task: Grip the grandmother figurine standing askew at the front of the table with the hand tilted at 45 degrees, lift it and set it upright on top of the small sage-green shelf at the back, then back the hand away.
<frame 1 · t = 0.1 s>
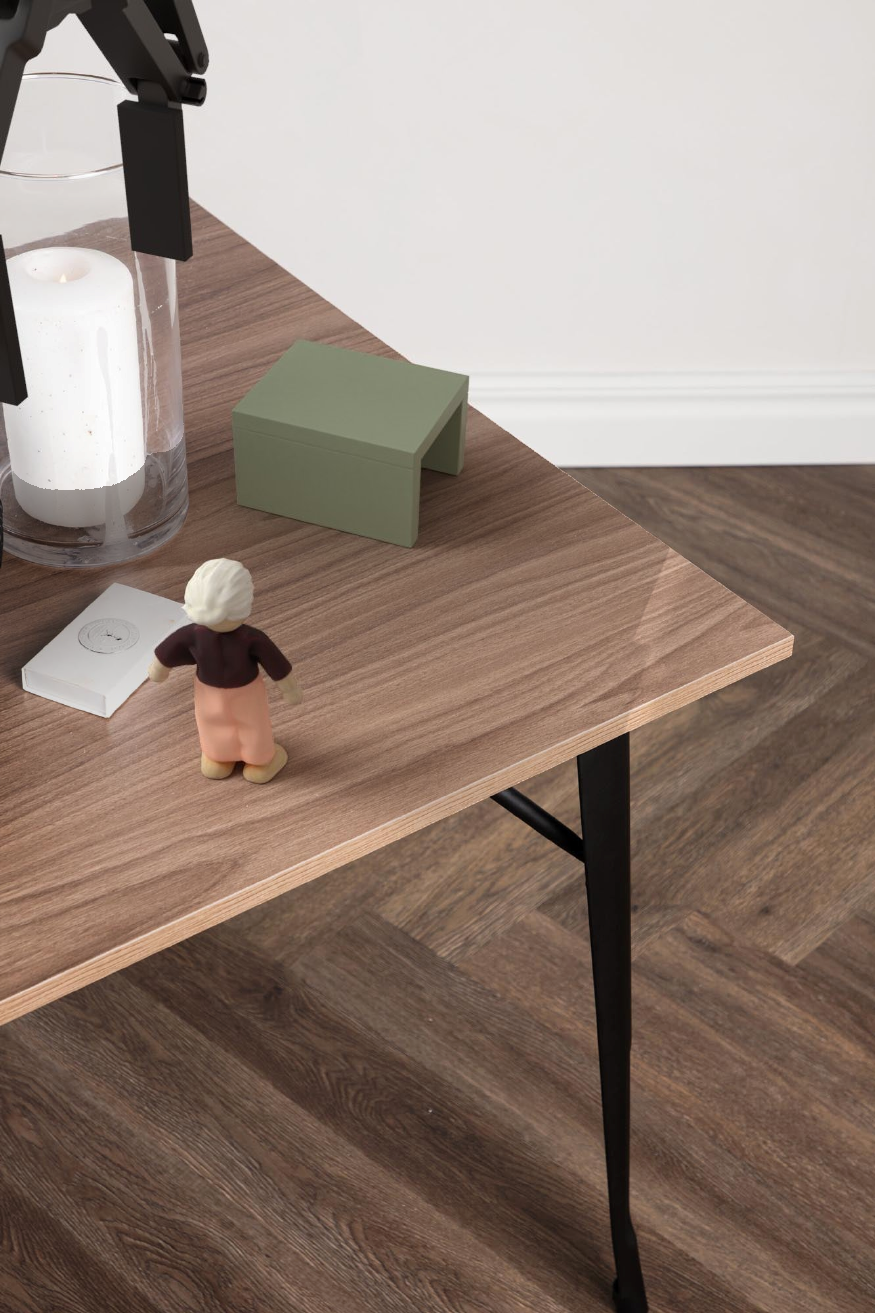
hand: (84, 318, 59), 24 cm above the table, tool pointing down, fingers open, 13 cm apart
grandmother figurine: (232, 763, 74), on the table
shelf: (353, 485, 93), on the table
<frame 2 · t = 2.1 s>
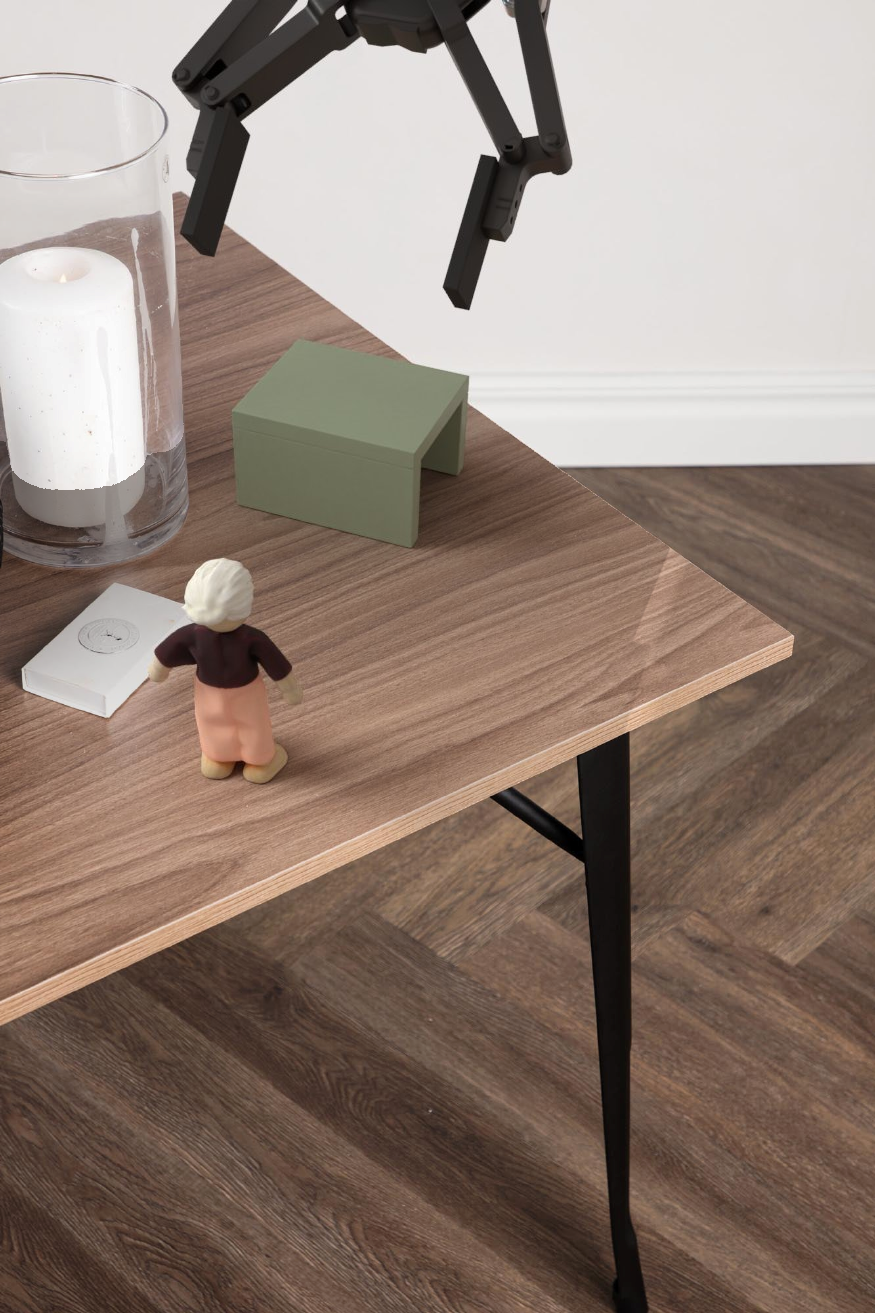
hand: (323, 272, 68), 22 cm above the table, tool tilted 45°, fingers open, 13 cm apart
nothing on the table moved.
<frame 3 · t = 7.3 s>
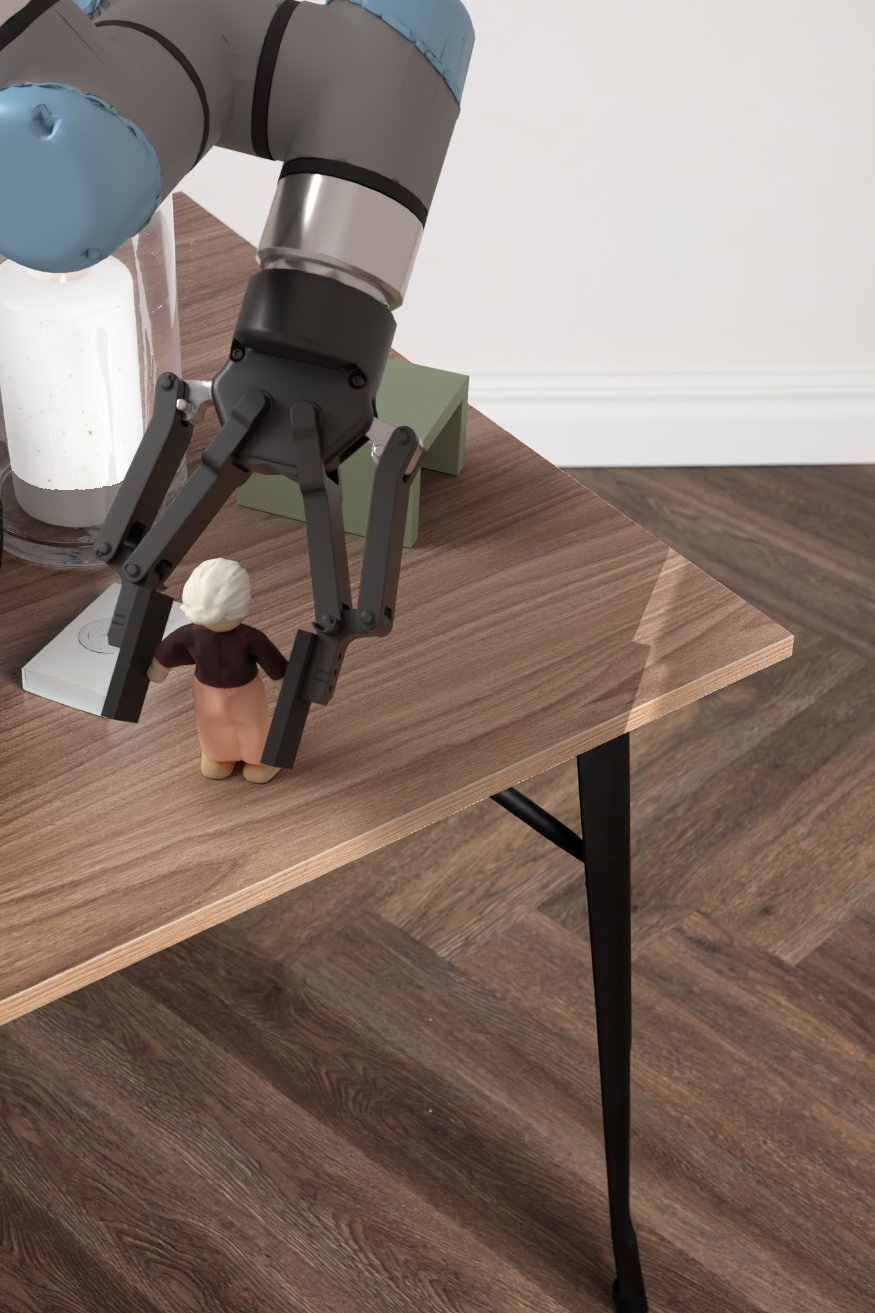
hand: (197, 742, 68), 4 cm above the table, tool tilted 45°, fingers closed on grandmother figurine, 8 cm apart
grandmother figurine: (232, 763, 74), on the table, touching gripper
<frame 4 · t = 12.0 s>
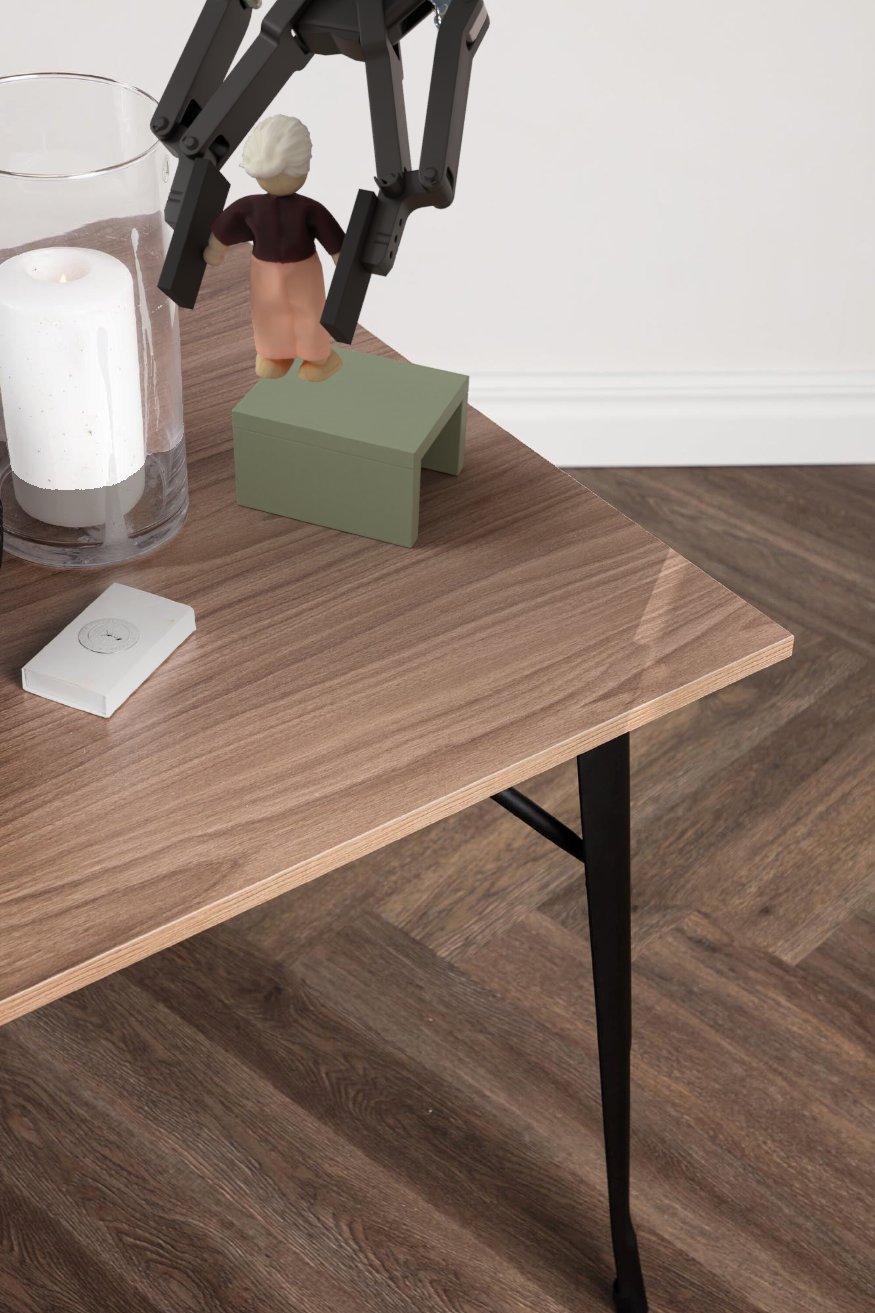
hand: (254, 315, 67), 21 cm above the table, tool tilted 45°, fingers closed on grandmother figurine, 8 cm apart
grandmother figurine: (286, 369, 73), point 16 cm above the table, touching gripper
when the fingers open (11 cm above the table, at t = 16.7 s): grandmother figurine stays where it is, resting on shelf.
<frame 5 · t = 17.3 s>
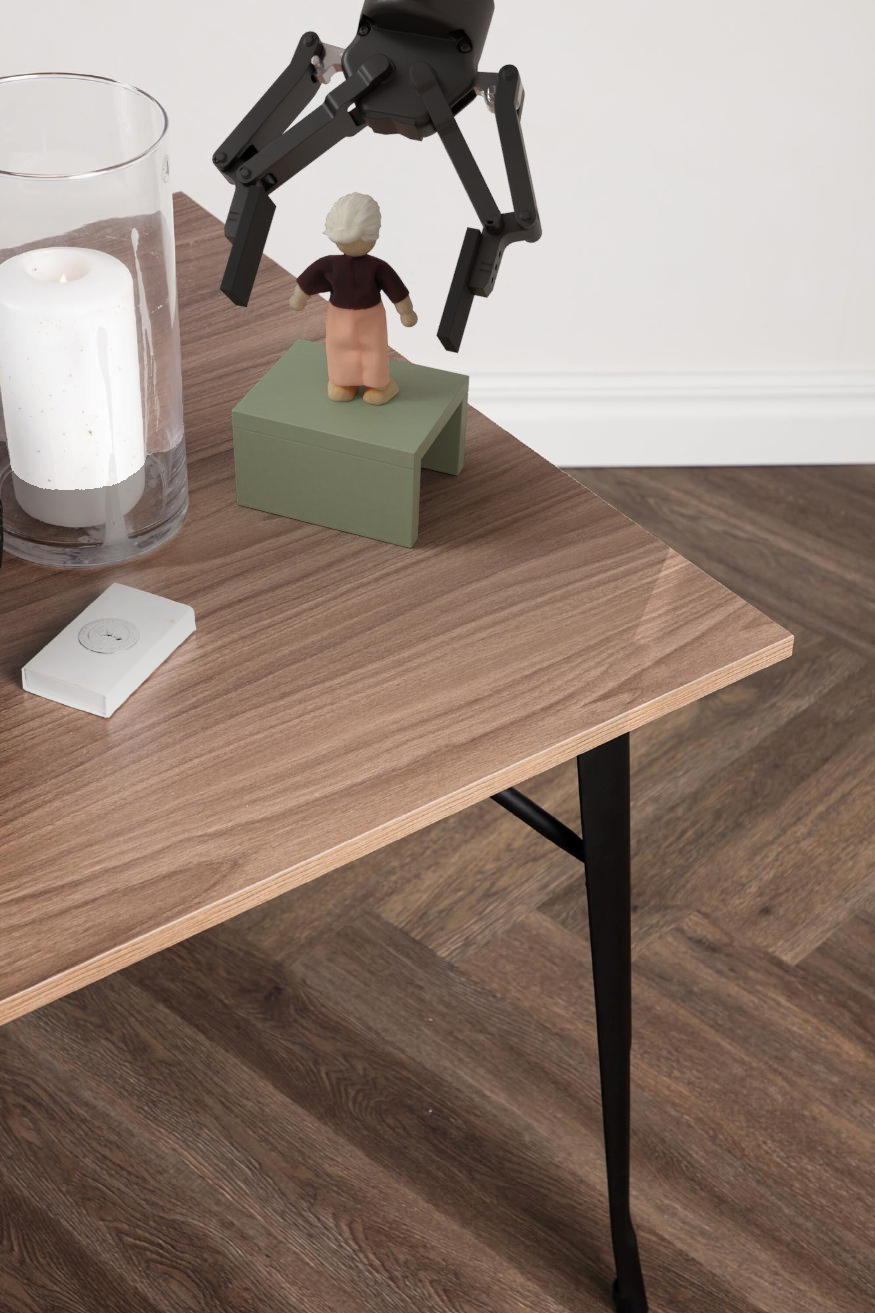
hand: (338, 321, 83), 13 cm above the table, tool tilted 45°, fingers open, 13 cm apart
grandmother figurine: (353, 394, 89), point 7 cm above the table, touching shelf
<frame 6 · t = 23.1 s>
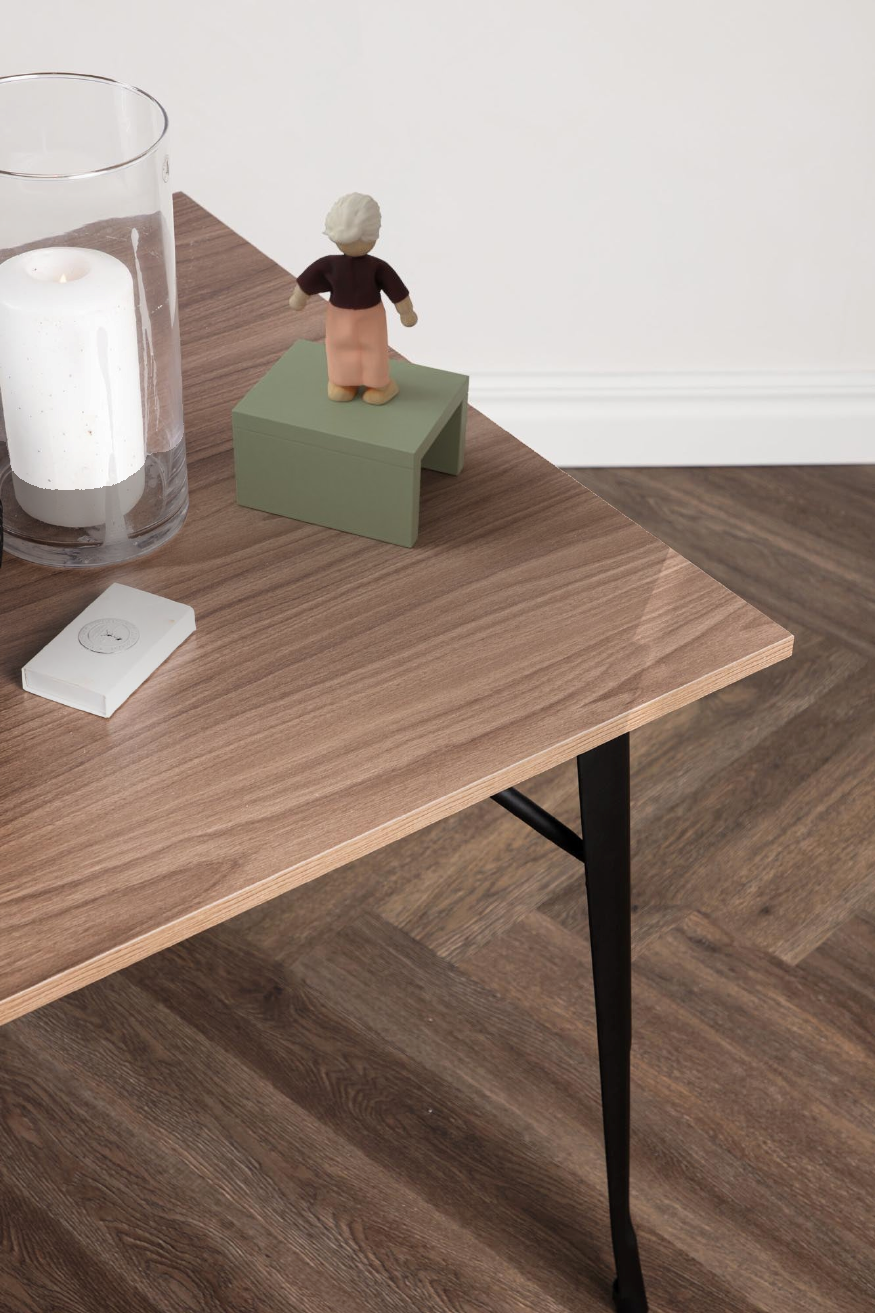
nothing on the table moved.
at the end: grandmother figurine inside the target area on the shelf (0.1 cm from its centre), point 6.8 cm above the shelf's base; grandmother figurine tilted 0°; the gripper is holding nothing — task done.
